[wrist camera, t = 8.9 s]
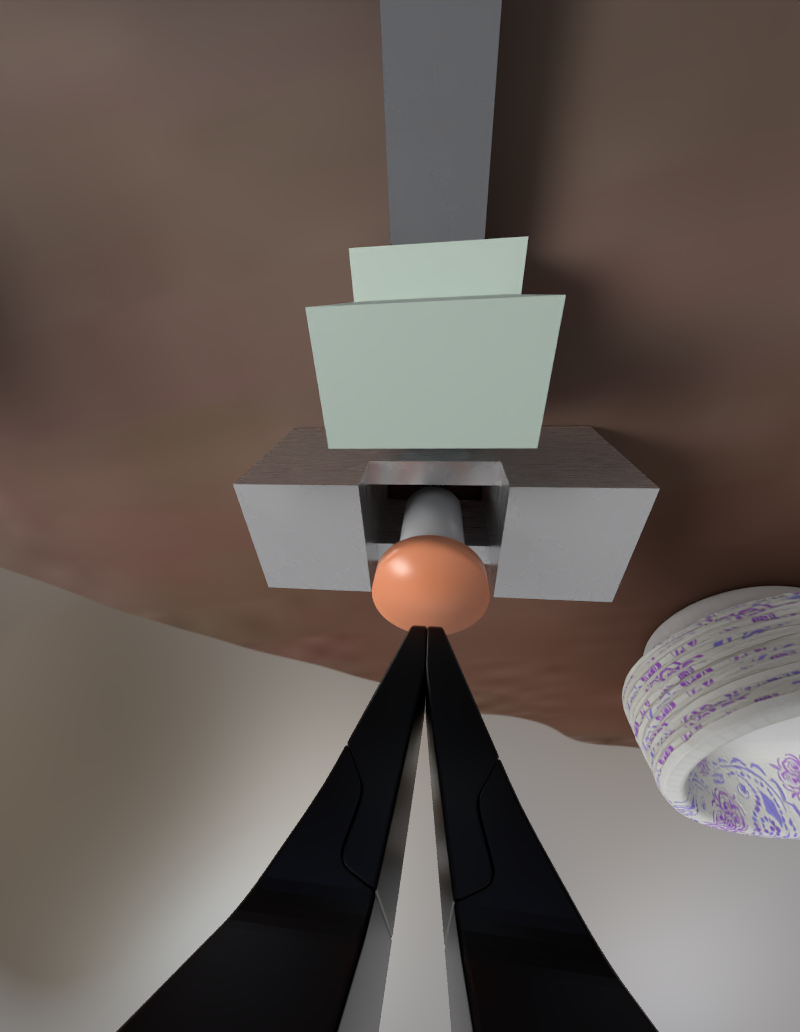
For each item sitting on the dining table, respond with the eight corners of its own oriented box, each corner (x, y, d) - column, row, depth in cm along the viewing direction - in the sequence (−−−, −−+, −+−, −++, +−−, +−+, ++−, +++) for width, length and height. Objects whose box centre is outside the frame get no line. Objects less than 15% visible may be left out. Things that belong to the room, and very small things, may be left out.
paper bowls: (950, 521, 16) (1297, 676, 10) (833, 696, 24) (983, 850, 17) (602, 566, 20) (684, 702, 13) (597, 706, 27) (647, 838, 21)
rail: (381, -178, 8) (366, -296, 7) (508, -203, 8) (526, -335, 6) (403, 416, 16) (399, 431, 14) (467, 416, 16) (470, 430, 14)
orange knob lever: (388, 472, 14) (367, 550, 10) (479, 473, 13) (496, 553, 9) (393, 543, 16) (376, 632, 12) (472, 545, 15) (484, 638, 11)
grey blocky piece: (294, 428, 17) (232, 484, 12) (589, 425, 16) (659, 488, 11) (312, 512, 20) (268, 587, 15) (565, 517, 18) (611, 601, 13)
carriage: (369, 258, 13) (253, 200, 5) (507, 249, 12) (630, 169, 4) (379, 396, 15) (315, 504, 8) (493, 394, 15) (550, 508, 7)
